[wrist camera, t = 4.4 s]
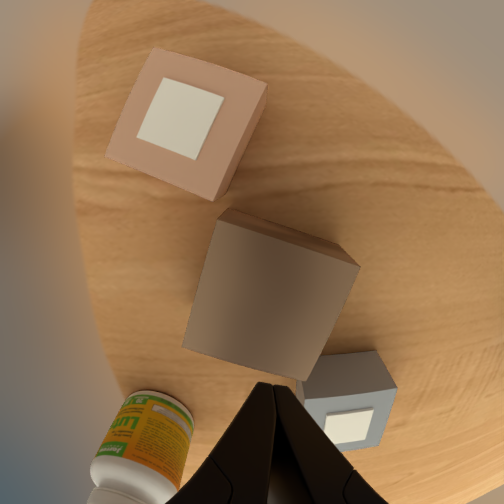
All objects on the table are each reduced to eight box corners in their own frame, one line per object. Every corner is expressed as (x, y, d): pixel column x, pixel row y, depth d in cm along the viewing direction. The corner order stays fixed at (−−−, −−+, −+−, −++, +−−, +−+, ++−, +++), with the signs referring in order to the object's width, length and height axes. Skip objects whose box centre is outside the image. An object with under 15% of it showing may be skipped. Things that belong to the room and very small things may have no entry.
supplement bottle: (148, 375, 18) (91, 490, 9) (210, 419, 19) (186, 537, 10) (114, 408, 19) (62, 502, 10) (169, 446, 20) (139, 543, 11)
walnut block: (337, 244, 16) (360, 267, 12) (298, 339, 17) (305, 381, 13) (228, 207, 15) (217, 219, 12) (198, 309, 17) (181, 347, 13)
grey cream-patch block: (375, 349, 17) (398, 390, 13) (363, 405, 19) (379, 447, 14) (297, 356, 17) (305, 402, 13) (294, 413, 19) (299, 458, 15)
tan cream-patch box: (266, 105, 14) (267, 82, 10) (225, 194, 15) (211, 202, 11) (178, 73, 14) (151, 45, 10) (140, 158, 15) (102, 156, 11)
